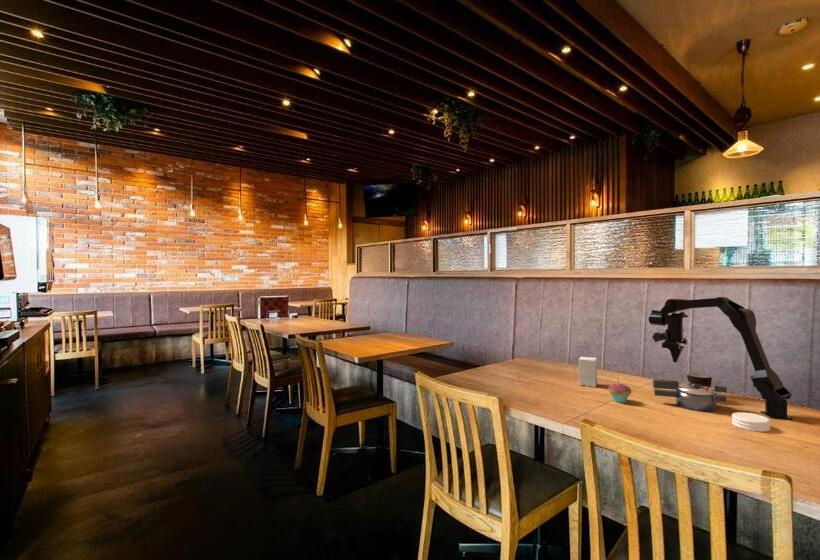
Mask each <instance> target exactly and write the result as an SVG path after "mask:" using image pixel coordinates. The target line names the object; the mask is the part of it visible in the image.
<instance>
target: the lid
mask: <svg viewBox="0 0 820 560" xmlns="http://www.w3.org/2000/svg"><path fill="white" fill-rule="evenodd" d="M652 388H653V389H661V390H673V391H676V390H678V391H681V392H685V393H689V394H695V395H716V394H718V393H724V394H725V393H727V392H728V390H727V386H725V385H714V387H712V386H711V387H709V386H705V385H700V384H696V383H692V384H691V383H688V382H684V383H683V382H681V383H680V382H679V381H678V380H672V379H671V380H668V379H656V378H655V379H654V378H653V379H652Z"/></svg>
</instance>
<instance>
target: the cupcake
mask: <svg viewBox="0 0 820 560" xmlns="http://www.w3.org/2000/svg"><path fill="white" fill-rule="evenodd" d="M608 393H609V394H610V395H611V398H612V400H613V401H614V402H615V403H619V402H620V404H621V403H622V404H624V403H625V404H626V403H627V402H628V398H629V396H630V395H631V394H632V389H631V388H630V386H627V384H624V383H620V381H619V374H618V373H616V383H612V384H610V385H609V386H608Z"/></svg>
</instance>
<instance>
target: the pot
mask: <svg viewBox="0 0 820 560" xmlns="http://www.w3.org/2000/svg"><path fill="white" fill-rule="evenodd" d="M653 394H654V396H658V397H671V398H675V405H676V406H677V405H678V407H679V408H682V409H685V410H689V411H695V412H701V413H703V412H704V413H711V412H712V413H713V412H716V411H717V402H724V403H725V402H727V396H726V395H725V394H720V393H717V394H716V395H695V394H689V393H685V392H681V391H678V390H672V389H658V388H653Z"/></svg>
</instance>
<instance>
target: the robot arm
mask: <svg viewBox="0 0 820 560" xmlns="http://www.w3.org/2000/svg"><path fill="white" fill-rule="evenodd" d="M716 307H717V308H718V309H719V310H720V311H721V312H722V313H723V314H724V315H725V316H727V317H728V319H729V321H730V322H731V324H732V326H733V327H734V328H735V329H736V330H737V331H738V332H739V333H740V336H741V339H742V340H743V344H744V346H745V349H746V350H747V353H748V356H749V359H750V360H751V361H750V362H751V365H752V366H753V368H754V369H753V370H754V374H753V375H750V377H749V378H750V380H751V382H752V386H753V388H755V389H756V390H757V392H758V393H760V396H761V399H763V400H765V401H764V402H765V405H764V406H765V410H761V411H760V413H761V414H763V415H765V416H766V417H769V418H771V419H780V420H781V419H783V420H793V417H792V416H790V415H788V401H787V400H790V399H791V397H792V396H793V394H792V393H791V392H790V391H789V390H788V389H787V388H786V387H785V386H784V384H783V382H782V380H781V378H780V376H778V375H779V374H777V373H776V372H775V371H774V370H773V369H772V368H771V366H770V363H769V360H768V358H767V355H766V353H765V351H764V349H763V346H762V344H761V341H760V338H759V336H758V333H757V331H756V330H757V318H756V315H755V312H754V311H753V310H751V309H750V308H745V307H744V306H743V305H741V304H738V303H737V302H734V301H733V300H731V299H730V298H729V297H727V296H718V297H712V298H700V299H687V298H669V299H667V300H666V301H665V302H664V305H663V306H662V308H661V309H660V310H657V309H654V310H652V309H651V313H650V314H649V317H648V322H649V324H650V325H652V326H661V327H665V326H667V328H666V329H665V330H664V332H654V333H653V335H652V337H651V338H652V340H654V343H658V342H659V341H660V342H661V341H663V342H662V343H661V348H662V349H667V350H668V351H670V355H671V358H672V362H673V363H677V362H678V360H679V358H680V356H681V355H682V352H683V351H684V350H685V346H684V345H688V344H689V343H688V339H687V337H684V332H685V330H684V324H683V319H684V318H685V319H686V318H688V317H689V315H687V314H686V313H685V311H688V310H691V309H702V308H716ZM677 312H678V313H677ZM683 344H684V345H683Z"/></svg>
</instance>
